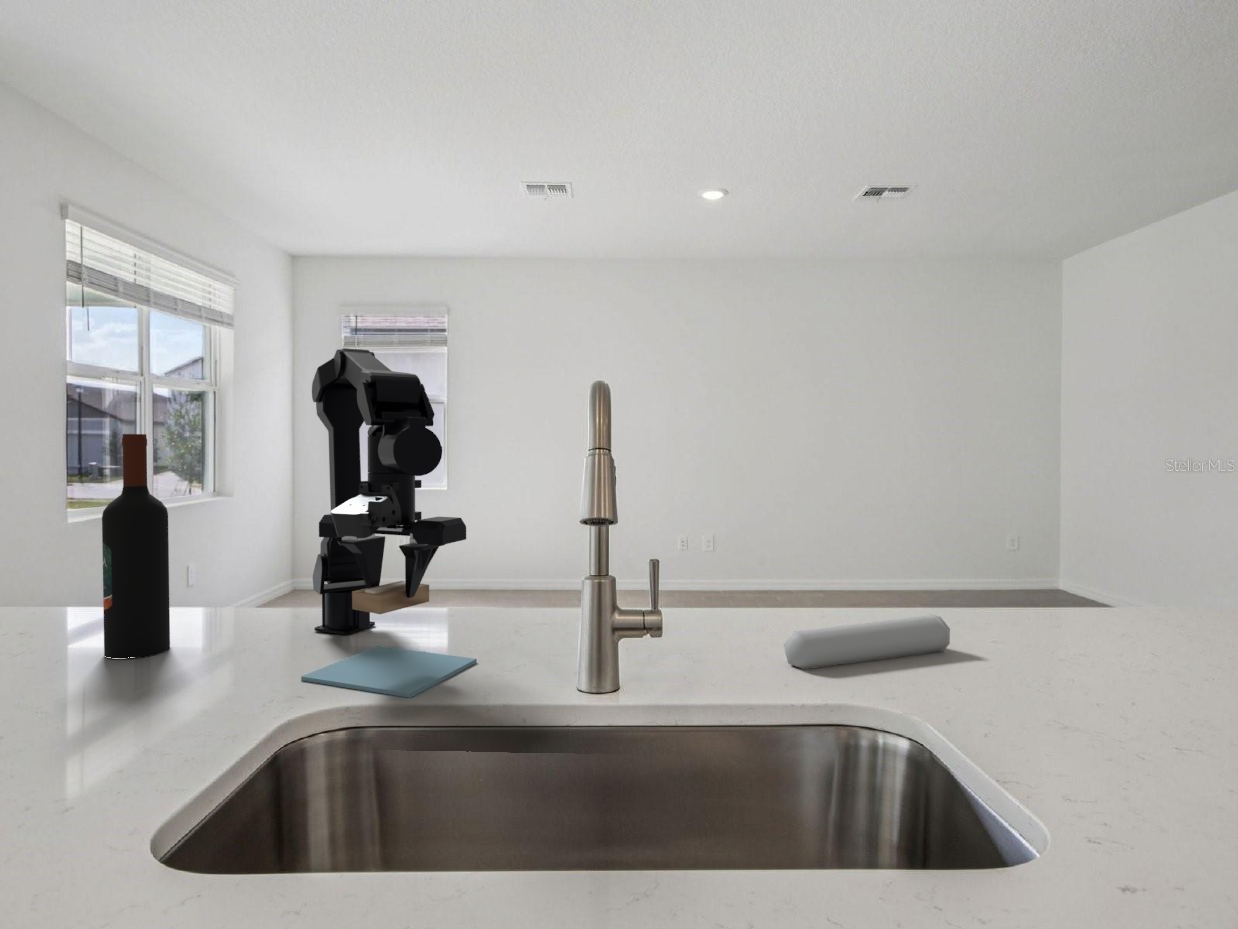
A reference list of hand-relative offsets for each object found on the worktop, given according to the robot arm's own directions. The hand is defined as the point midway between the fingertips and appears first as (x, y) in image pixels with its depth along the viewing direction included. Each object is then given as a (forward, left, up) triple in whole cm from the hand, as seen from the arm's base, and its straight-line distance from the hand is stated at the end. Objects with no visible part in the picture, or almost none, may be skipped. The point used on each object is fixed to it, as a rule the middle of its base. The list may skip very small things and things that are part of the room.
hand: (391, 595), depth 90 cm
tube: (+56, +29, -10) cm, 64 cm away
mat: (0, 0, -10) cm, 10 cm away
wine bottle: (-38, -6, -10) cm, 40 cm away
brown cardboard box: (0, 0, -1) cm, 1 cm away
